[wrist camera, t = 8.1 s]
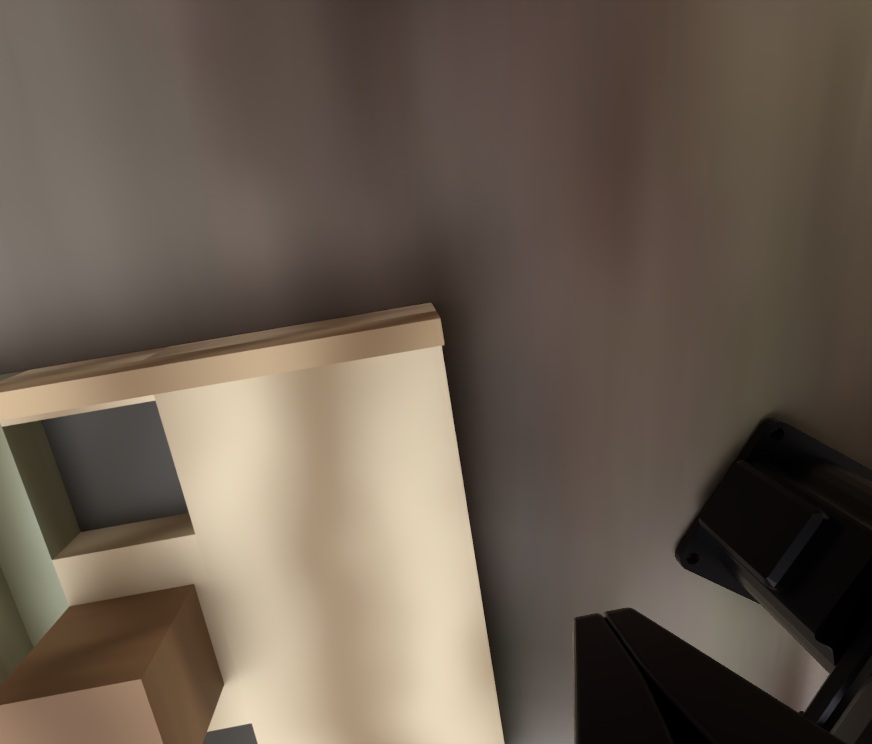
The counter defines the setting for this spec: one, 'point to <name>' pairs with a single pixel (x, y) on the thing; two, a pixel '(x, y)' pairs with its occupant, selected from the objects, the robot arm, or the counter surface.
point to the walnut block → (117, 675)
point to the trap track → (264, 522)
